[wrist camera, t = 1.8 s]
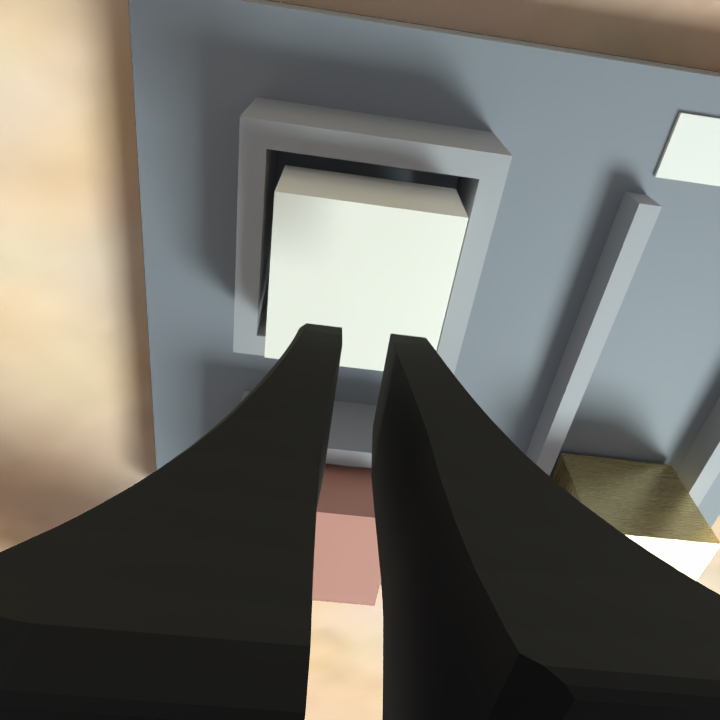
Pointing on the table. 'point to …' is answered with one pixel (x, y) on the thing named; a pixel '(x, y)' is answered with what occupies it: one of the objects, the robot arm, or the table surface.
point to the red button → (346, 538)
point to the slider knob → (642, 507)
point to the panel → (483, 231)
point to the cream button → (361, 260)
